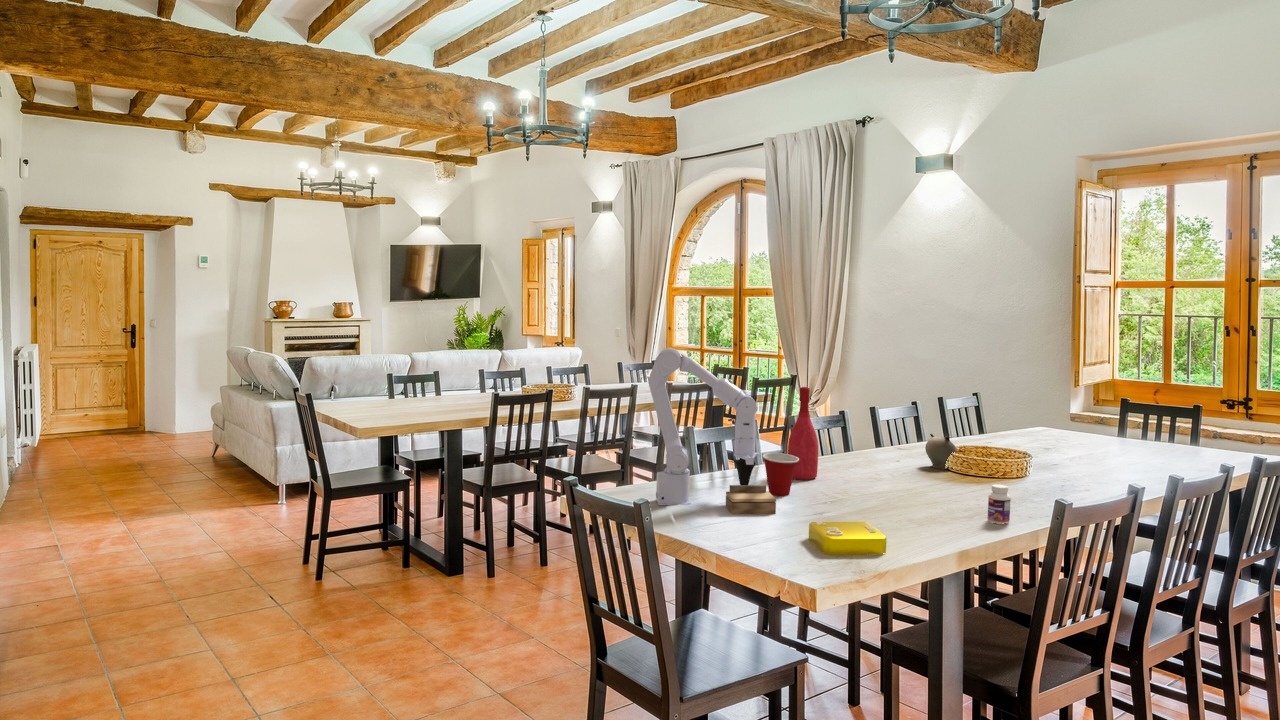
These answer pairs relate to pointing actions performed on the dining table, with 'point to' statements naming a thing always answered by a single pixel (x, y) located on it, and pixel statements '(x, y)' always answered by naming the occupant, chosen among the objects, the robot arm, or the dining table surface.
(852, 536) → the element tile
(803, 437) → the wine bottle
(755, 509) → the walnut box
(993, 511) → the pill bottle
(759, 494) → the lid
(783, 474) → the plastic cup
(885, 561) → the dining table surface
